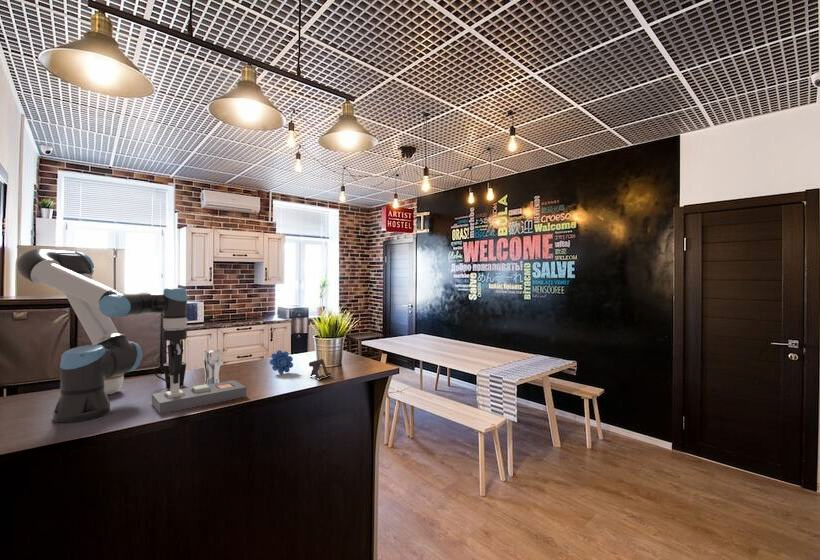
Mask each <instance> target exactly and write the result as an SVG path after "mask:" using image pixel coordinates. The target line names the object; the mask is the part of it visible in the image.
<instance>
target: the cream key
mask: <svg viewBox="0 0 820 560" xmlns="http://www.w3.org/2000/svg"><path fill="white" fill-rule="evenodd" d="M180 389H181V388H180ZM180 389H179V391H178V392H172V393H171V392H170V390H168V391H167V392H166V391H164V392H165V397H166V398H173V397H179V396H184V392H183V391H182V390H180Z"/></svg>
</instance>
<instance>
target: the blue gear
mask: <svg viewBox="0 0 820 560" xmlns="http://www.w3.org/2000/svg"><path fill="white" fill-rule="evenodd" d="M270 356H271V359H270V360H269V364H270V365H271V366H272V367H271V369H272V371H274V372H276V371H277V372H278V374H280V373H282V374H284V372H285V373H287V372H288V373H289V372H290V371H291V370H290V369H291V368H293V367H294V363H293V356H291V355H289V352H288V351H282V350H280V349H279V350H277V351H276V353H275V352H273V353H272V354H271V355H270Z"/></svg>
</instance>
